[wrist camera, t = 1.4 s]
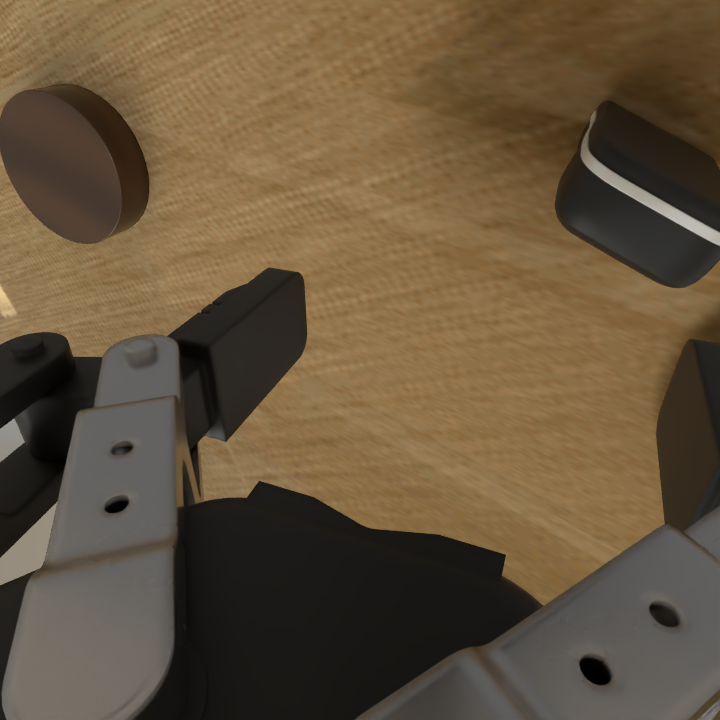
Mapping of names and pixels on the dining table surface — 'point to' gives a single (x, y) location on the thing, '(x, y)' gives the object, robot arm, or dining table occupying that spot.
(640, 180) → the battery charger
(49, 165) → the brown round disc
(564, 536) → the dining table surface
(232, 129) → the dining table surface
